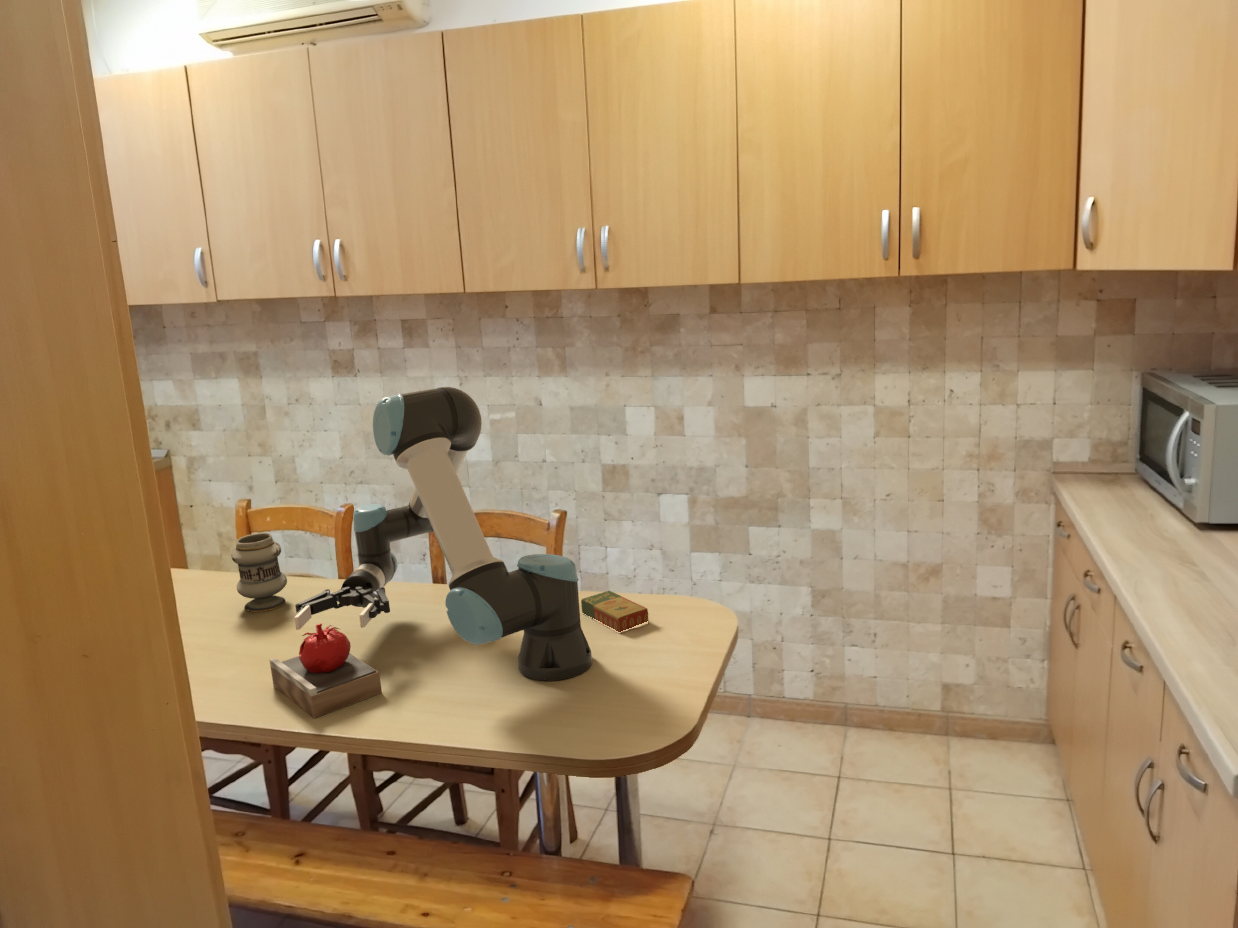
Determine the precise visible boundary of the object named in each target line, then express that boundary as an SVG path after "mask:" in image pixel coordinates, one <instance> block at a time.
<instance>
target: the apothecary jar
mask: <svg viewBox="0 0 1238 928" xmlns="http://www.w3.org/2000/svg"><path fill="white" fill-rule="evenodd" d="M235 544H236V546H235V548H234V549H233V551H232V552H231V557H230V558H231V560H232V561H233V562H234V563H236V564H237V567H238V571H239V572H238V573H239V580H238V582H237V584H236V591H237V593H238V594H239V595H241V596H242V597H244V598H246V599H252V600H249V601H248V602H247V603H246V604H245V605H244V608H243V609H244V610H245V611H248V612H249V611H250V613H262V611H264V612H268V611H267V610H269V611H272V609H273V610H275V609H278V608H280V607H282V606H283V605H285V603H286V599H285V598H284V597H283V596H279V595H276V594H279V593H280V592H281V591H282V590H283V589H284V588H285V587H286V585H288V584H287V583H288V578H287V575H285V573H283V572H282V571H281V569H280V565H279V564H280V563H279V559H278V557H279V556H280V555H281V553H282V548H281V545H280V544H279V543H278V542H276V541H275V540H274V539H273V536H272V533H267V532H259V533H252V534H251V533H250V534H248V535H243V536H241V537H239V538H238V539H237V540H236V543H235Z"/></svg>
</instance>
